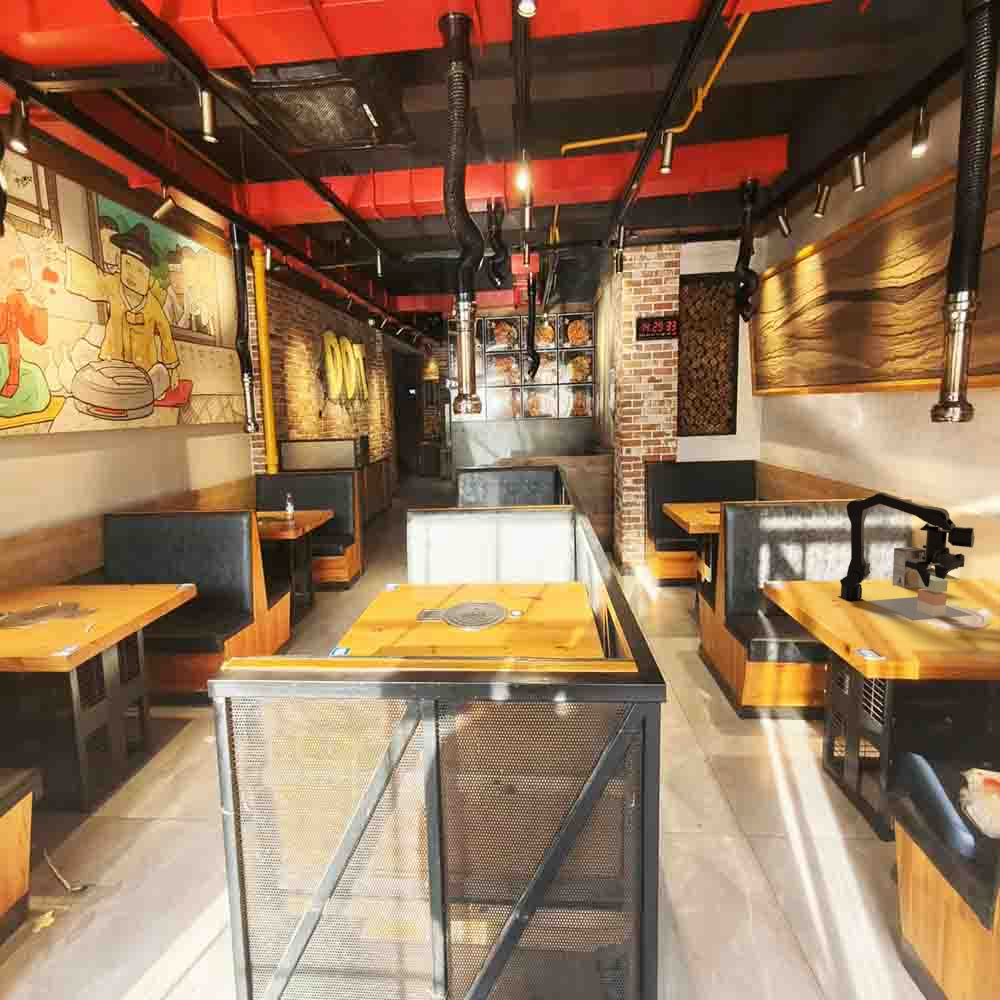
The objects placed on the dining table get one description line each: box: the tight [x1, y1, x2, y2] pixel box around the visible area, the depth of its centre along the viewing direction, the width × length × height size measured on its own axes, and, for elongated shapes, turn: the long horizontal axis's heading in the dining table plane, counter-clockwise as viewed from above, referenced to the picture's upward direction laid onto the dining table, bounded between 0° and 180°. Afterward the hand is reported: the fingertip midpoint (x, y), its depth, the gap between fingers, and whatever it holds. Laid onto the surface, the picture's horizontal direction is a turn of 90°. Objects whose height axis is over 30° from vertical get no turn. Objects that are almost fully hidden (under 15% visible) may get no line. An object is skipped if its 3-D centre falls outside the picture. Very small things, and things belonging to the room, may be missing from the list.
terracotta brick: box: [917, 588, 947, 606], centre depth 209 cm, size 7×5×4 cm, turn 8°
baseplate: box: [865, 596, 973, 621], centre depth 216 cm, size 24×22×4 cm
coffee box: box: [891, 546, 926, 589], centre depth 242 cm, size 9×6×16 cm
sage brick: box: [918, 574, 949, 593], centre depth 208 cm, size 7×5×4 cm, turn 8°
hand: (932, 586), depth 209 cm, fingers closed on sage brick, 4 cm apart
